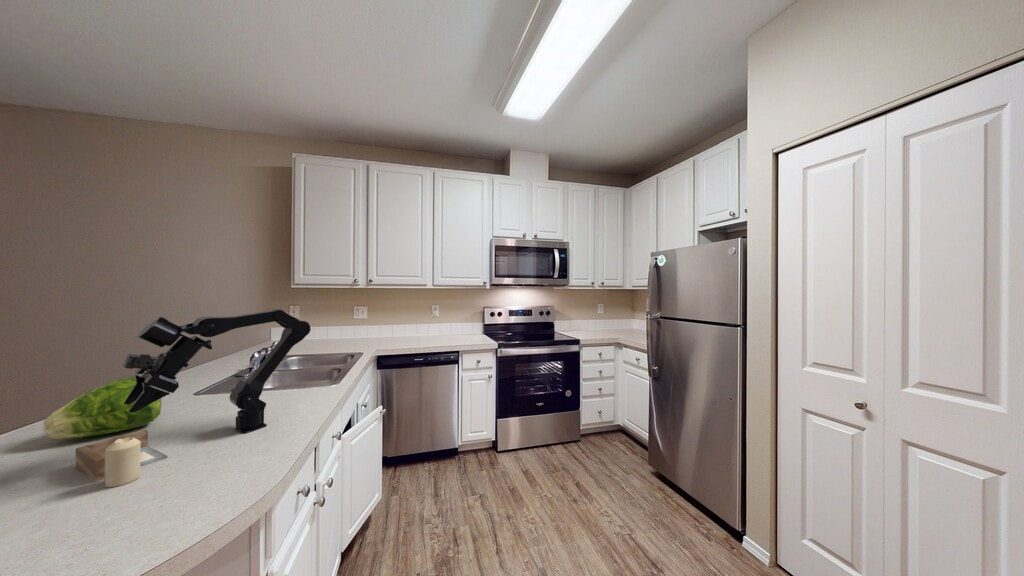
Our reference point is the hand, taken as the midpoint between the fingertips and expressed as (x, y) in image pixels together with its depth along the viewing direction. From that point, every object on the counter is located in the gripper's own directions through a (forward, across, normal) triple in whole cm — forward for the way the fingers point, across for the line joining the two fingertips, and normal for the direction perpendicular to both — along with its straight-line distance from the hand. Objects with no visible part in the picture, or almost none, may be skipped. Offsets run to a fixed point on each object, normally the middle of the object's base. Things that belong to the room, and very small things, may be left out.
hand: (128, 408), depth 87 cm
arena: (+12, -1, +8) cm, 14 cm away
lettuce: (+12, -30, +8) cm, 34 cm away
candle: (+13, +11, +7) cm, 18 cm away
